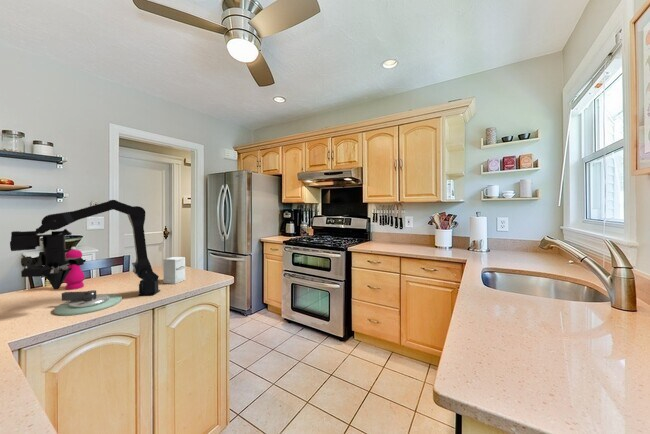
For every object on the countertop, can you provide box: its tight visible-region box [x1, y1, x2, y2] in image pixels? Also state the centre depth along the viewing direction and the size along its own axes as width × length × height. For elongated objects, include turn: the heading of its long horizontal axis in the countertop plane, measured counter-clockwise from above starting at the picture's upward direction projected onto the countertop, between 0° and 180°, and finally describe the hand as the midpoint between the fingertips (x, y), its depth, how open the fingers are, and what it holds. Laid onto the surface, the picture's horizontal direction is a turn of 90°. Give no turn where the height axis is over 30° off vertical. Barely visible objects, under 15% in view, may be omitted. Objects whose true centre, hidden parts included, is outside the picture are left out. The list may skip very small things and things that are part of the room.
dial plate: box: [53, 293, 123, 317], centre depth 103 cm, size 20×20×1 cm
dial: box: [61, 289, 109, 308], centre depth 103 cm, size 16×12×4 cm
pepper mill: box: [63, 246, 86, 291], centre depth 124 cm, size 7×7×20 cm
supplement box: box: [162, 256, 186, 285], centre depth 135 cm, size 7×7×13 cm
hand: (56, 289), depth 96 cm, fingers closed
